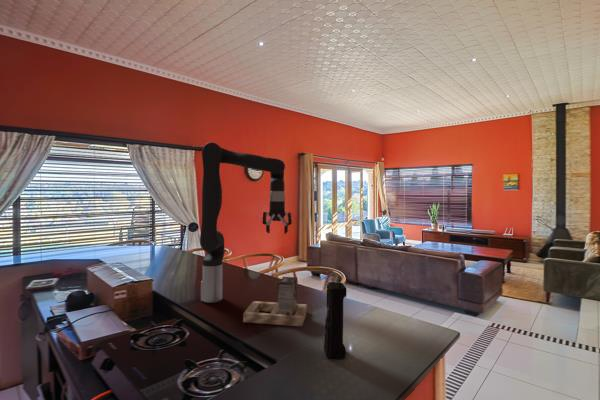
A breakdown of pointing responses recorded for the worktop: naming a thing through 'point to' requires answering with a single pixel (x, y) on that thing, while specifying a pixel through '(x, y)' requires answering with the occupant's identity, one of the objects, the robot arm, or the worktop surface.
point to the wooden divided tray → (273, 314)
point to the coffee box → (287, 296)
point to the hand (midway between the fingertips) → (277, 233)
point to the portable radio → (334, 321)
